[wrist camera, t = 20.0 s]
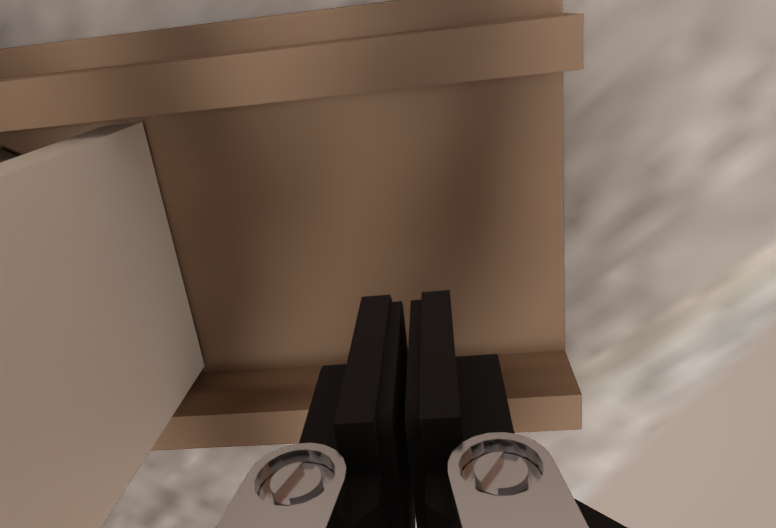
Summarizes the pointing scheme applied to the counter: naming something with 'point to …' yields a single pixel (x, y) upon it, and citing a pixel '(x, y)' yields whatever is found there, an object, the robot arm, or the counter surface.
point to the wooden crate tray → (338, 187)
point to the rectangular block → (86, 326)
